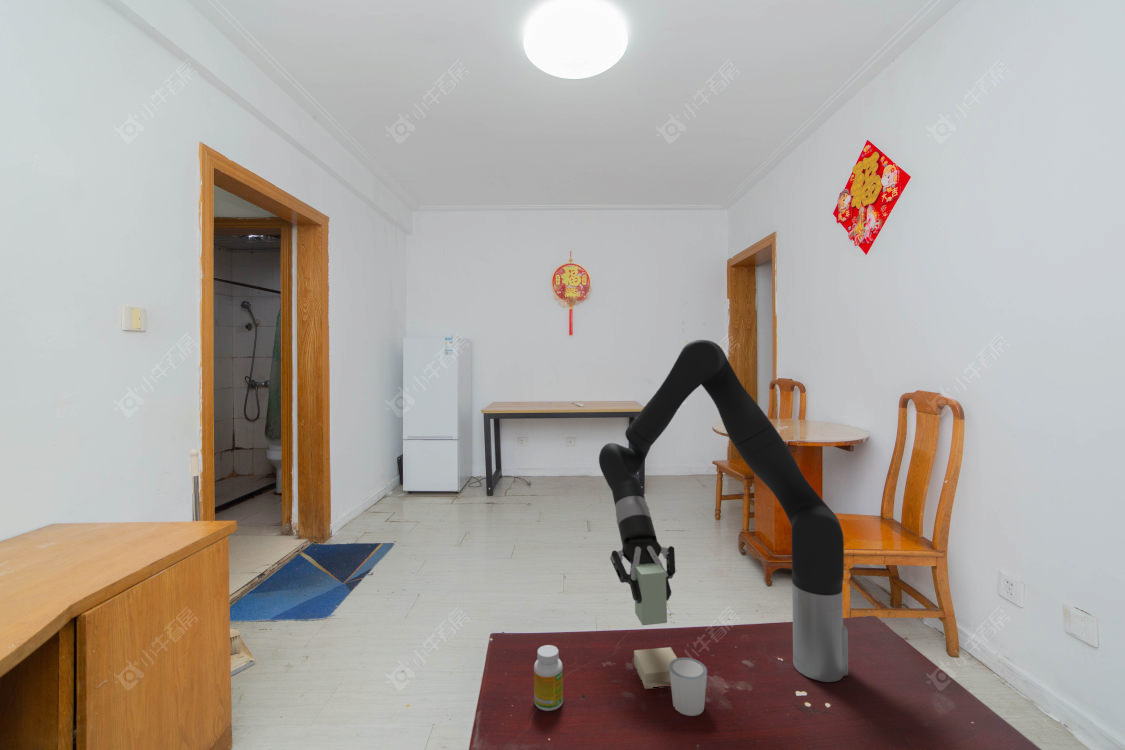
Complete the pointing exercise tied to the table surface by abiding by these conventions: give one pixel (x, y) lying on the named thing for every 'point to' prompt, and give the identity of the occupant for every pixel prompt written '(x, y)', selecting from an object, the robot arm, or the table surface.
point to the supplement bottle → (548, 679)
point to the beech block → (654, 666)
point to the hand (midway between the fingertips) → (653, 600)
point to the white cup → (688, 685)
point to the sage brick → (651, 594)
